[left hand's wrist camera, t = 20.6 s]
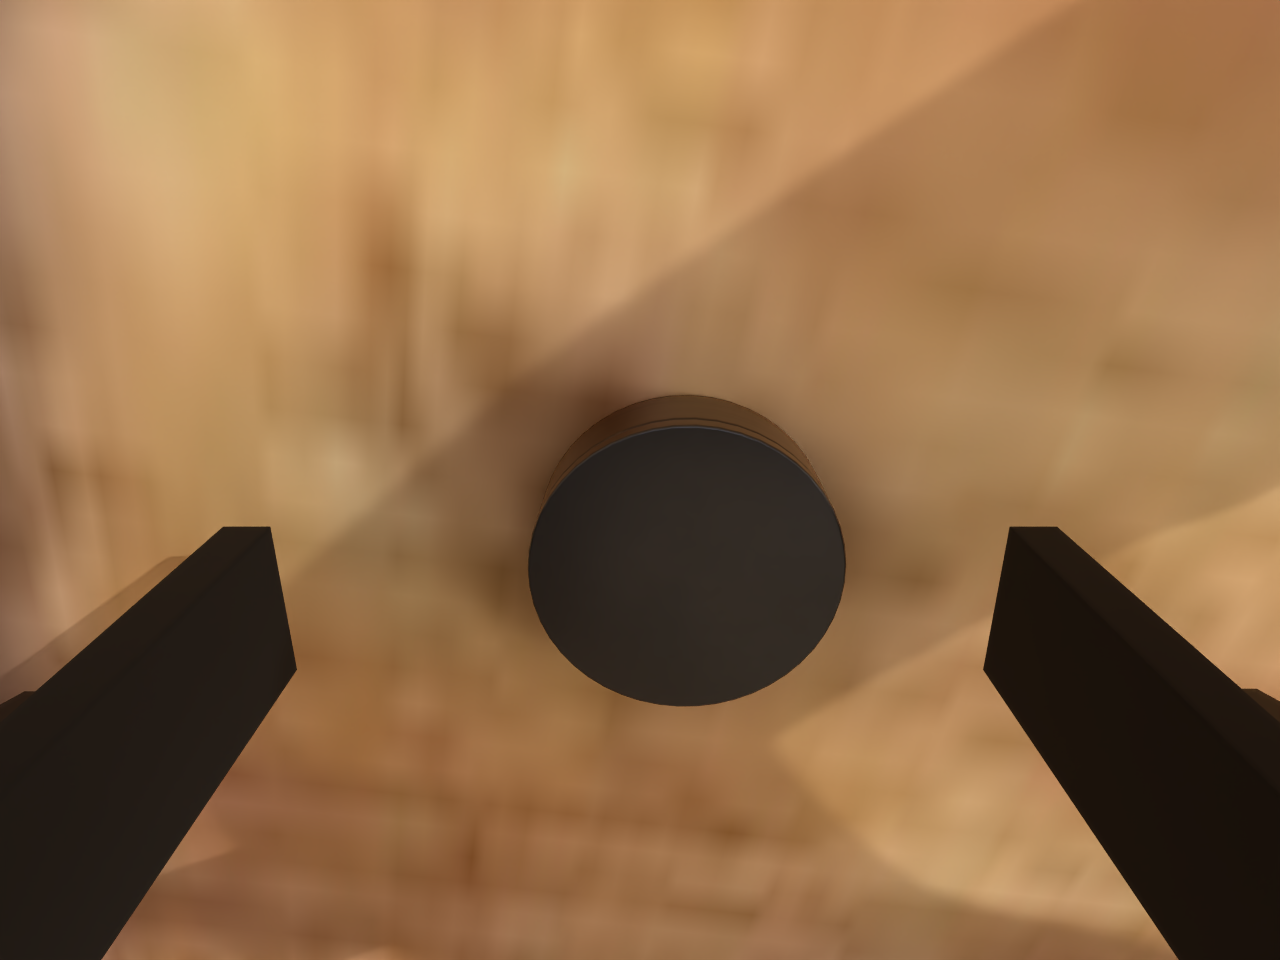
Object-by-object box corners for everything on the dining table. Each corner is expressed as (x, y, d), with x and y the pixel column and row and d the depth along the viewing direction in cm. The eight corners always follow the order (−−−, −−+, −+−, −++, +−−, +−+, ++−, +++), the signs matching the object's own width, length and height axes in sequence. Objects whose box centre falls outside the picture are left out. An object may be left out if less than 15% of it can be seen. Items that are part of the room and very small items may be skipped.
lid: (667, 332, 14) (668, 356, 12) (885, 516, 15) (913, 559, 14) (485, 546, 16) (465, 592, 14) (696, 697, 17) (700, 756, 15)
